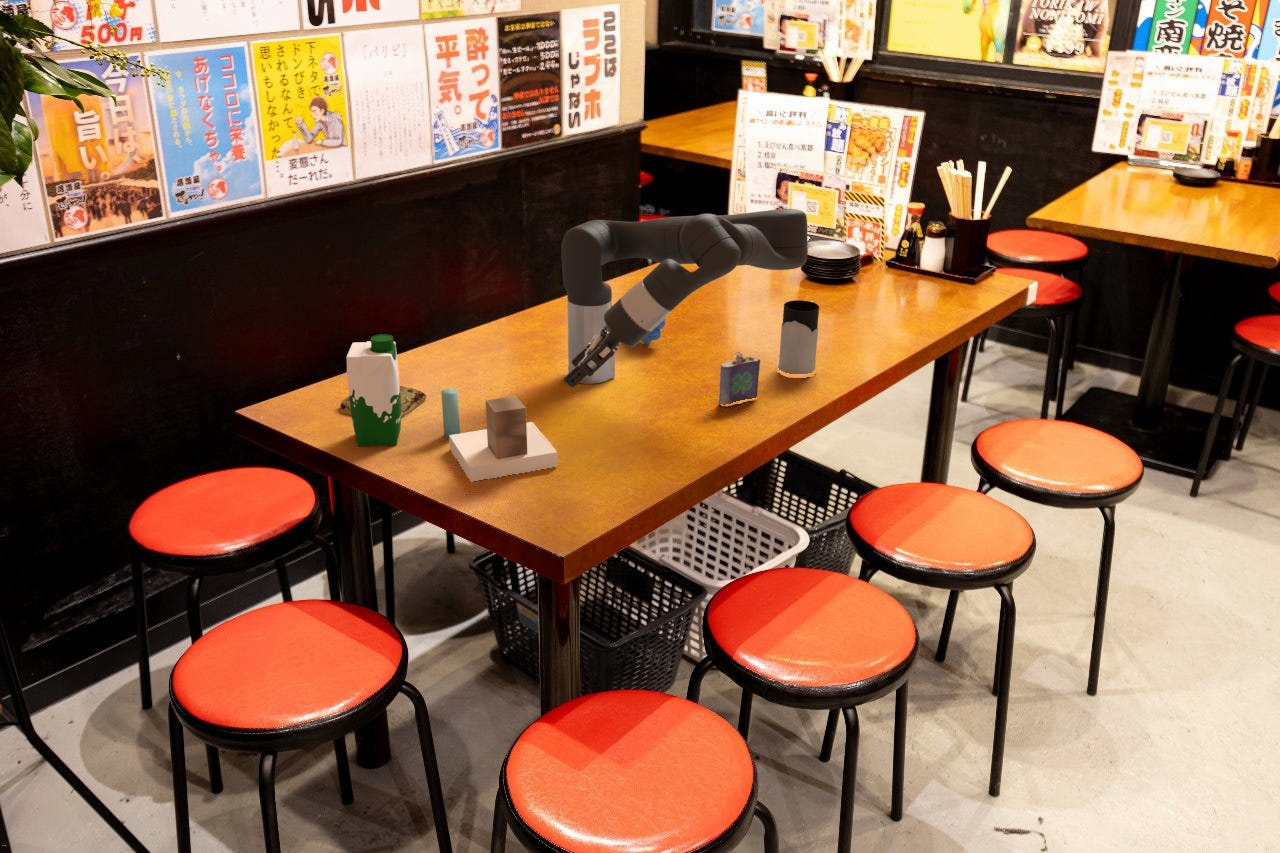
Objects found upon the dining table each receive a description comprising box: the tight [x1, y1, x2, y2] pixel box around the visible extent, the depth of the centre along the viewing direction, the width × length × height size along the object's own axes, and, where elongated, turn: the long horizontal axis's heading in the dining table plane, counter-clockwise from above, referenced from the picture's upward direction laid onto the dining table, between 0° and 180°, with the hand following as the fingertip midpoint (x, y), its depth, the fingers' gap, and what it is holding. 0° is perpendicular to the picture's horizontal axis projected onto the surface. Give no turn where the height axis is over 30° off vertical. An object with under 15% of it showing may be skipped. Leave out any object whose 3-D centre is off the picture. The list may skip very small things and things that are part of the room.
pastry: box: [339, 385, 427, 419], centre depth 225 cm, size 17×17×3 cm
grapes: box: [640, 318, 666, 345], centre depth 257 cm, size 12×7×12 cm, turn 44°
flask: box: [718, 351, 761, 405], centre depth 227 cm, size 9×3×11 cm, turn 121°
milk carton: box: [346, 333, 402, 447], centre depth 207 cm, size 9×9×20 cm
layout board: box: [448, 421, 559, 482], centre depth 203 cm, size 16×14×3 cm
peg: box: [440, 388, 461, 440], centre depth 211 cm, size 3×3×9 cm
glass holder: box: [777, 299, 820, 374], centre depth 244 cm, size 9×14×15 cm, turn 155°
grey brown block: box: [485, 395, 527, 459], centre depth 198 cm, size 6×6×9 cm
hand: (571, 374), depth 192 cm, fingers open, 8 cm apart
